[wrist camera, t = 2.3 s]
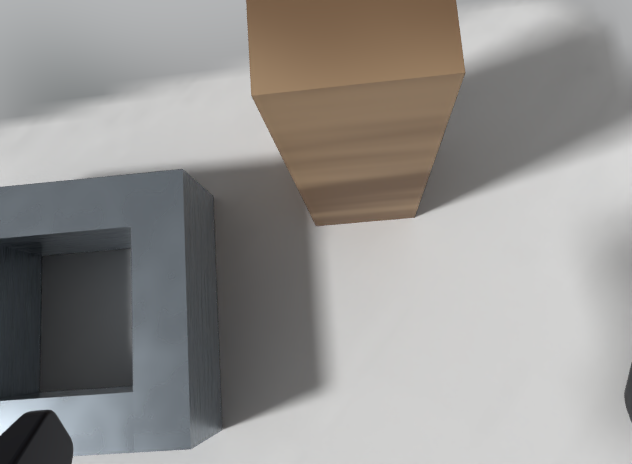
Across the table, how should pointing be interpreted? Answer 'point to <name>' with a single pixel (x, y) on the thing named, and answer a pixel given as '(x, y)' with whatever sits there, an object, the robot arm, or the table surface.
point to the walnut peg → (356, 98)
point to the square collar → (147, 307)
